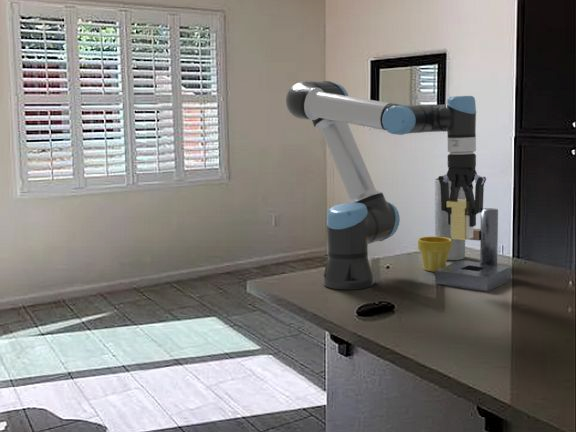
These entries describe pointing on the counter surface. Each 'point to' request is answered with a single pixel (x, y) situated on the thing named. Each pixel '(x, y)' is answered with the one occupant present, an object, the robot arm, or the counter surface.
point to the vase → (442, 224)
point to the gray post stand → (485, 271)
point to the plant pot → (434, 252)
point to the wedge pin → (459, 218)
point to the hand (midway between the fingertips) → (461, 237)
